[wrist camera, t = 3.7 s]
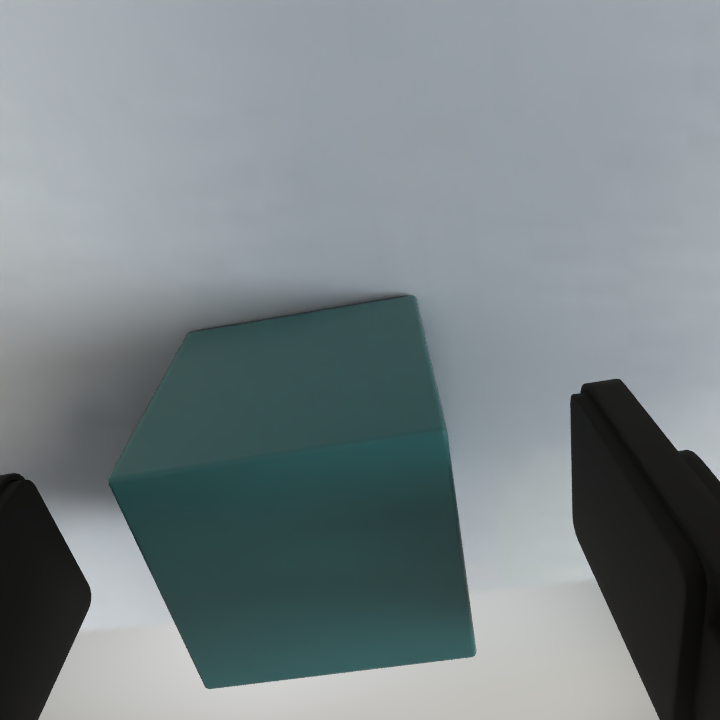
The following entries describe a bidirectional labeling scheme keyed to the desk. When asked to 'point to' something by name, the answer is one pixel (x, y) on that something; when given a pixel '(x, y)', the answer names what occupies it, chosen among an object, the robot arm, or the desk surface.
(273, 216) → the desk surface
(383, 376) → the key block
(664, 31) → the desk surface
